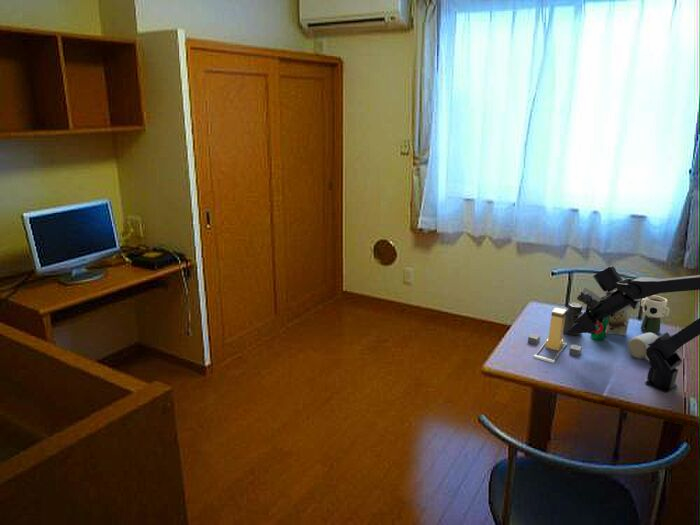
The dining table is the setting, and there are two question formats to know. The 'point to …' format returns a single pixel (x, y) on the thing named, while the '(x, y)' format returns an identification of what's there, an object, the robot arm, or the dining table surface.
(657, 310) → the character mug
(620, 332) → the coffee box
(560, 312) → the amber handle
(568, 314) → the supplement bottle
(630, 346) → the ceramic mug
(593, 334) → the soda can
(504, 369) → the dining table surface
